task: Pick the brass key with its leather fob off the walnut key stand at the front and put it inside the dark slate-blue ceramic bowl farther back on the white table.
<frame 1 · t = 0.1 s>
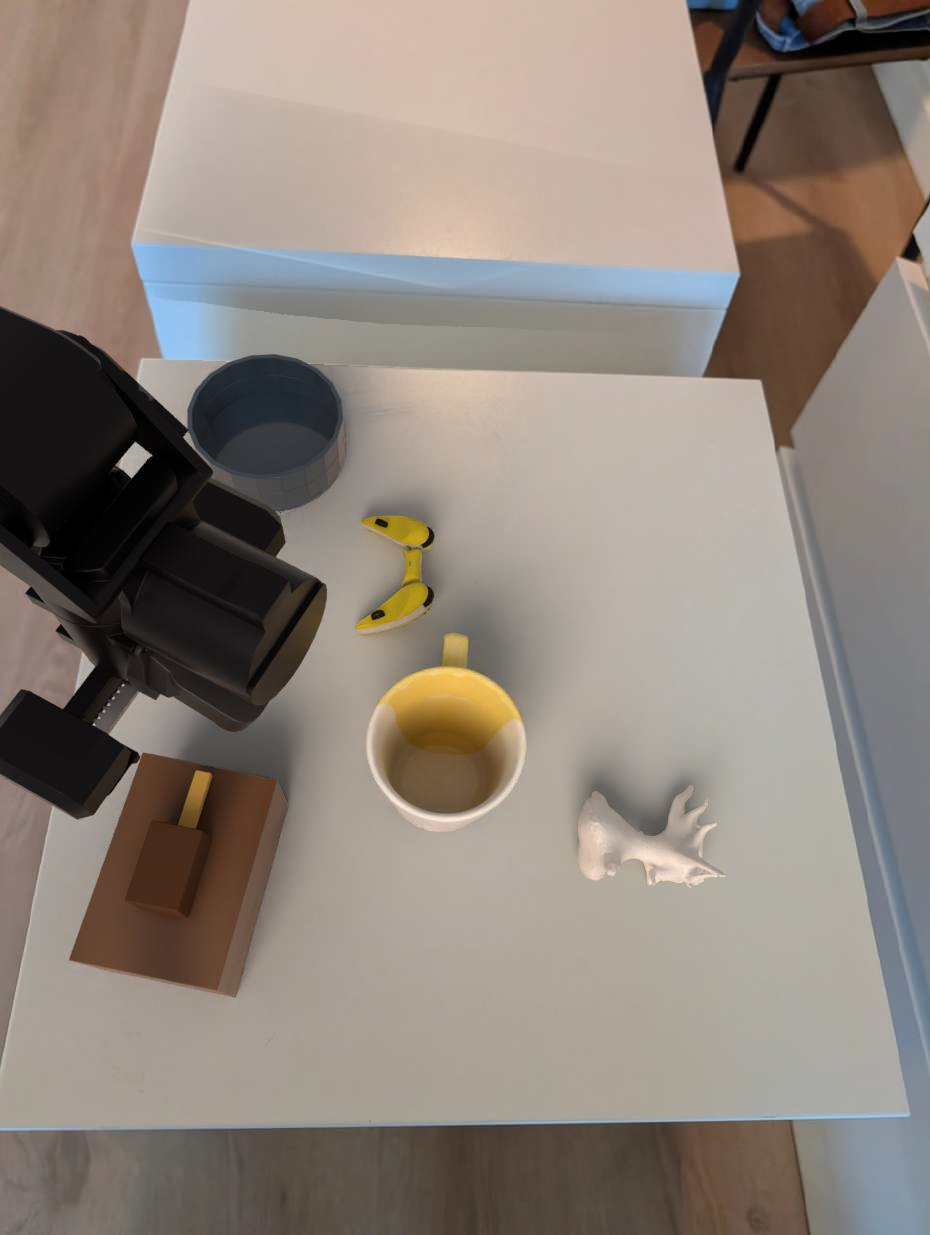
hand: (177, 691, 55), 13 cm above the table, tool pointing down, fingers open, 9 cm apart
bowl: (272, 450, 79), on the table
key: (175, 873, 57), point 7 cm above the table, touching key stand
figurine: (640, 843, 67), on the table
mug: (446, 762, 68), on the table
game controller: (395, 581, 74), on the table
key stand: (199, 884, 63), on the table
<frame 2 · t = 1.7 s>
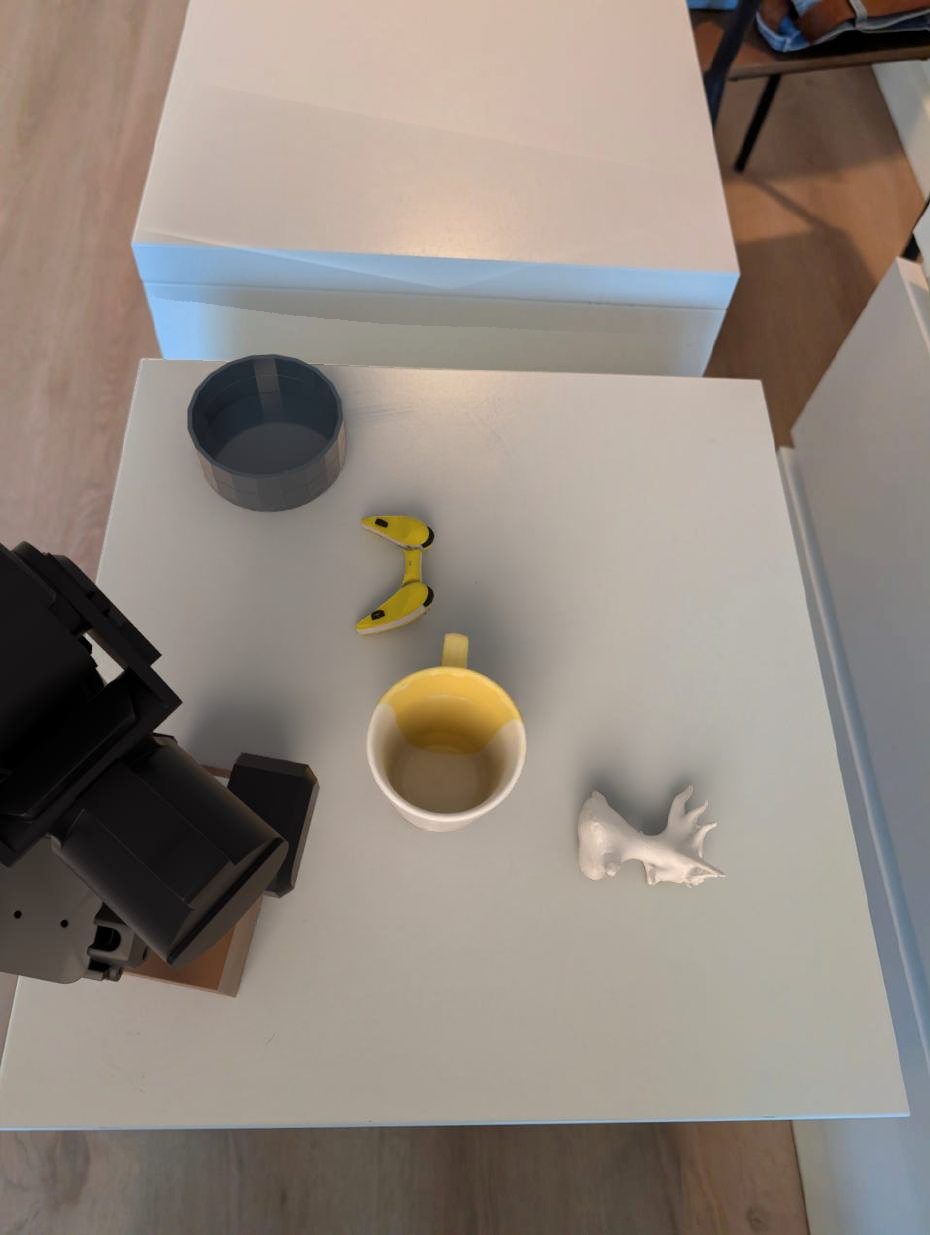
hand: (157, 833, 52), 13 cm above the table, tool pointing down, fingers open, 9 cm apart
nothing on the table moved.
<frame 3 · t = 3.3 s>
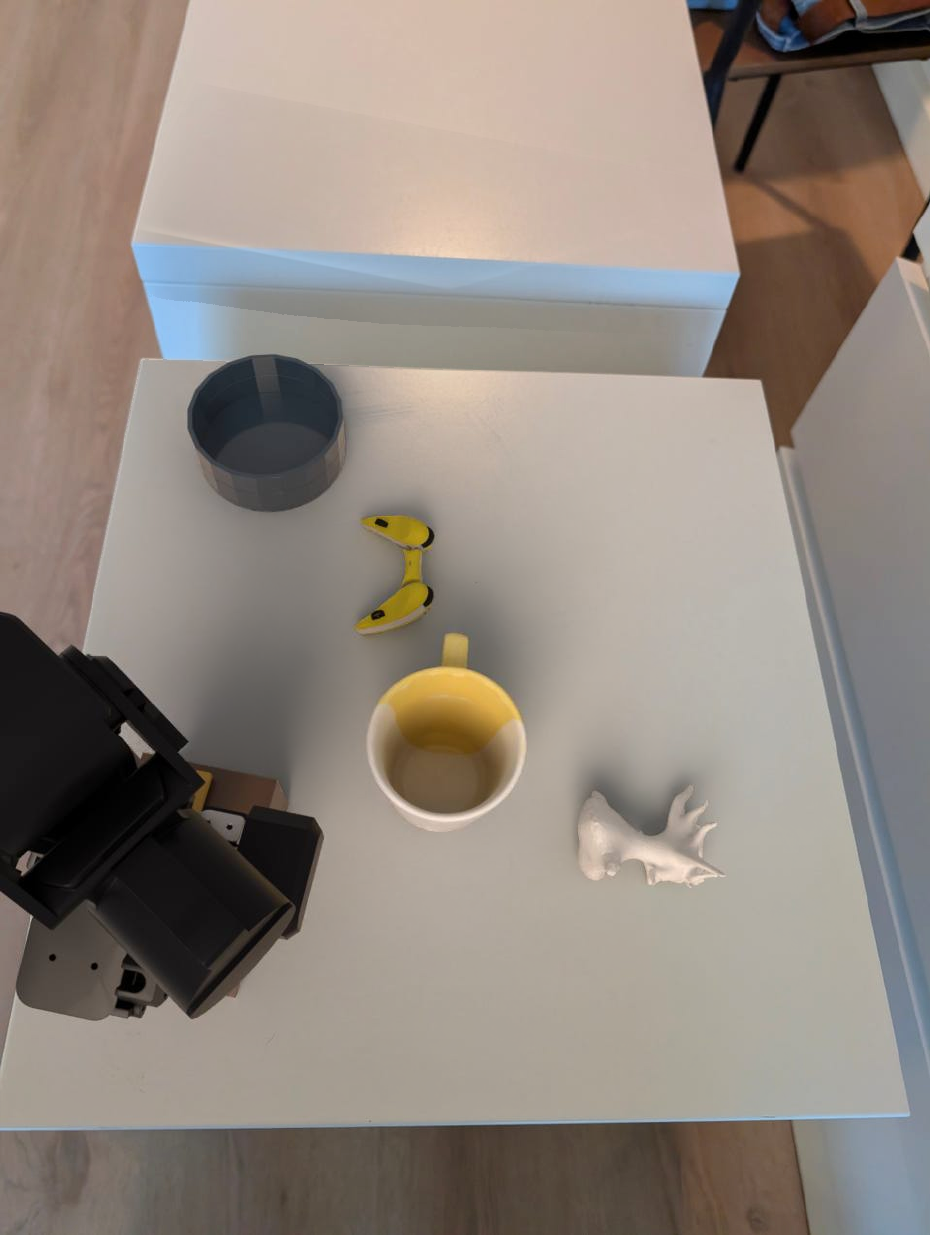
hand: (173, 871, 56), 8 cm above the table, tool pointing down, fingers closed on key, 3 cm apart
key: (175, 873, 57), point 7 cm above the table, touching gripper, key stand
everything else where it was.
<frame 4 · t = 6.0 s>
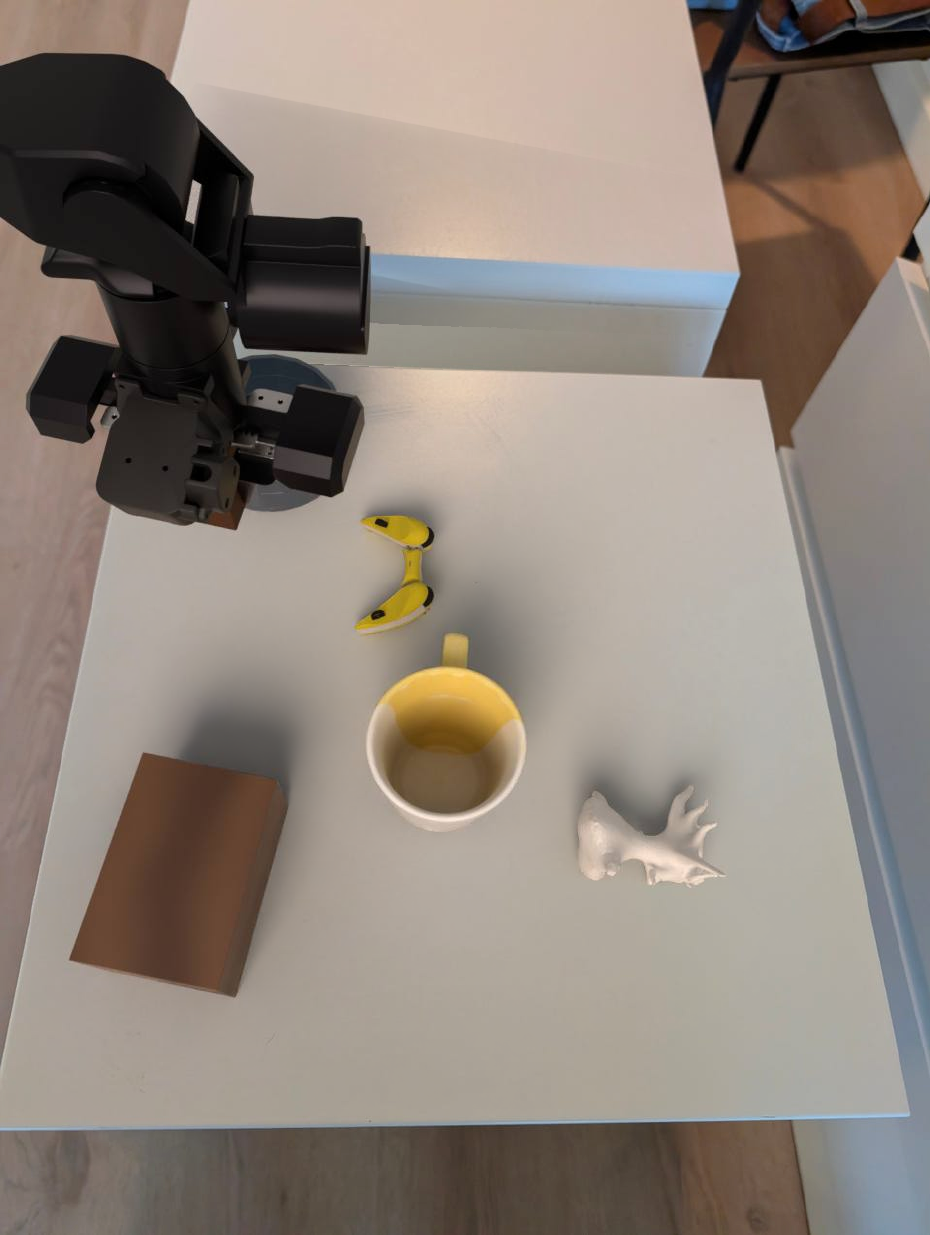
hand: (223, 492, 61), 13 cm above the table, tool pointing down, fingers closed on key, 3 cm apart
key: (224, 496, 62), point 12 cm above the table, touching gripper
everything else where it was.
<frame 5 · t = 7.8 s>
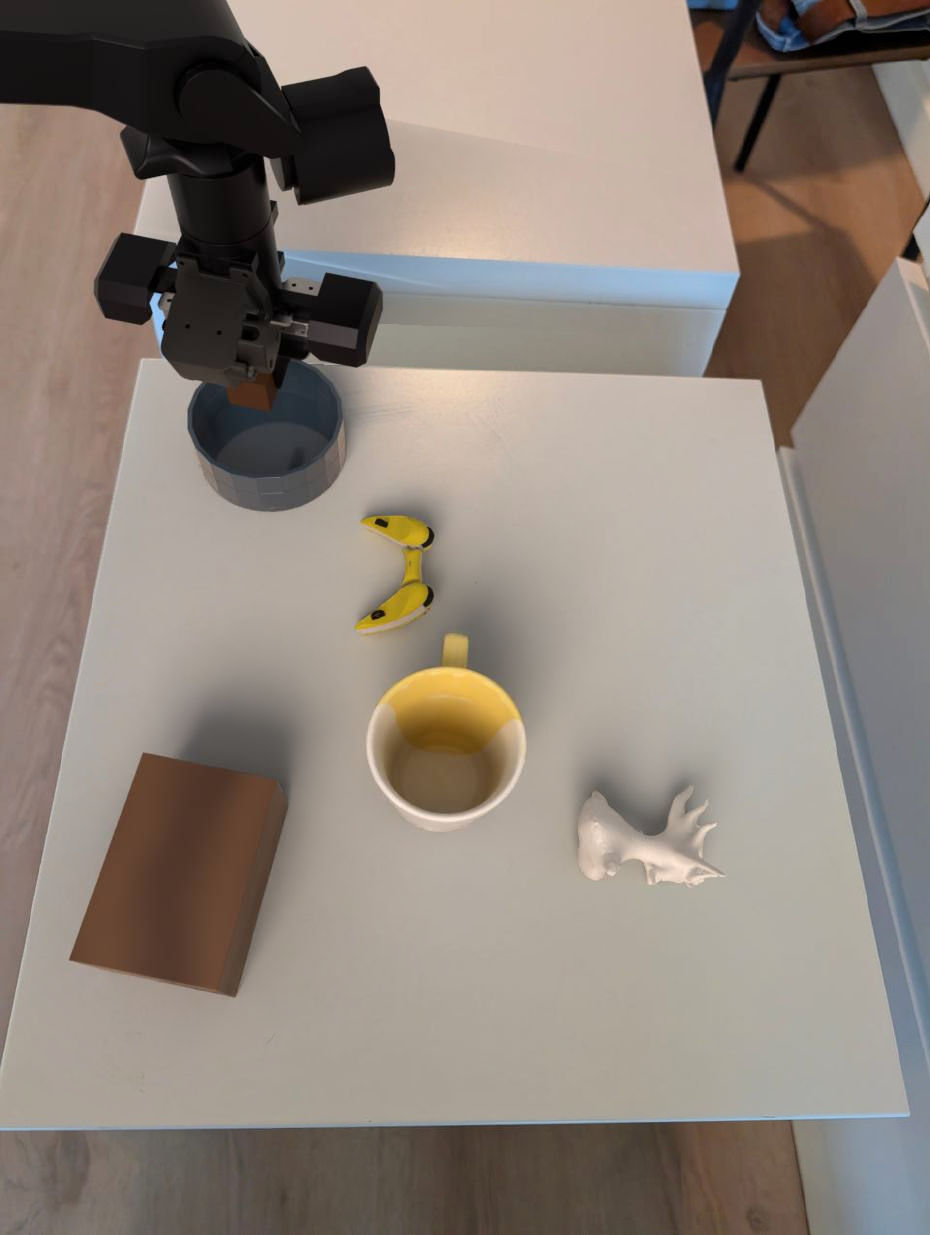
hand: (257, 379, 70), 9 cm above the table, tool pointing down, fingers closed on key, 3 cm apart
key: (258, 384, 71), point 9 cm above the table, touching gripper
everything else where it was.
when the fingers open (5 cm above the table, at t = 9.0 s): key drops 2 cm, resting on bowl.
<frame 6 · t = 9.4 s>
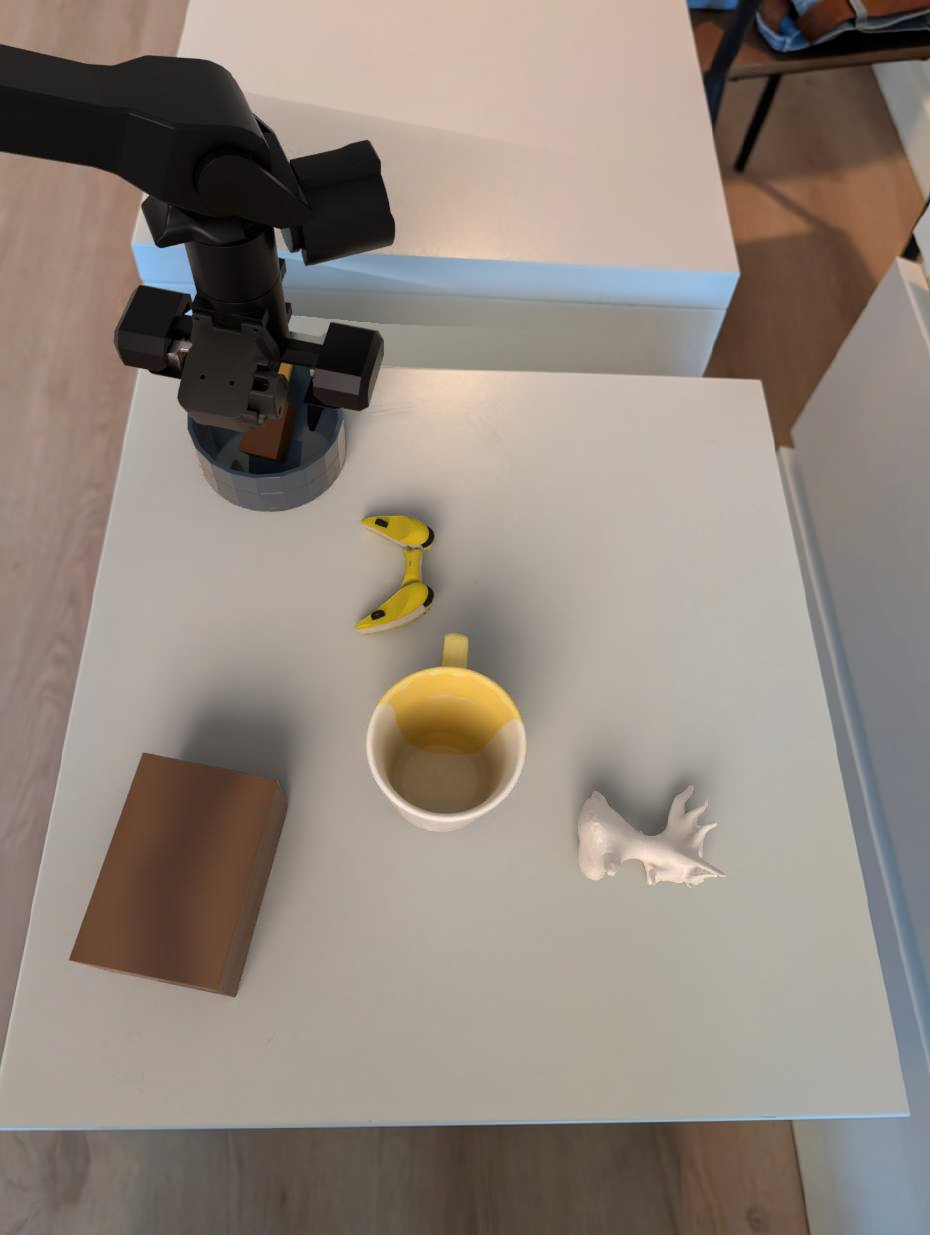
hand: (266, 417, 75), 5 cm above the table, tool pointing down, fingers open, 8 cm apart
key: (273, 432, 77), point 2 cm above the table, tilted 28°, touching bowl
everything else where it was.
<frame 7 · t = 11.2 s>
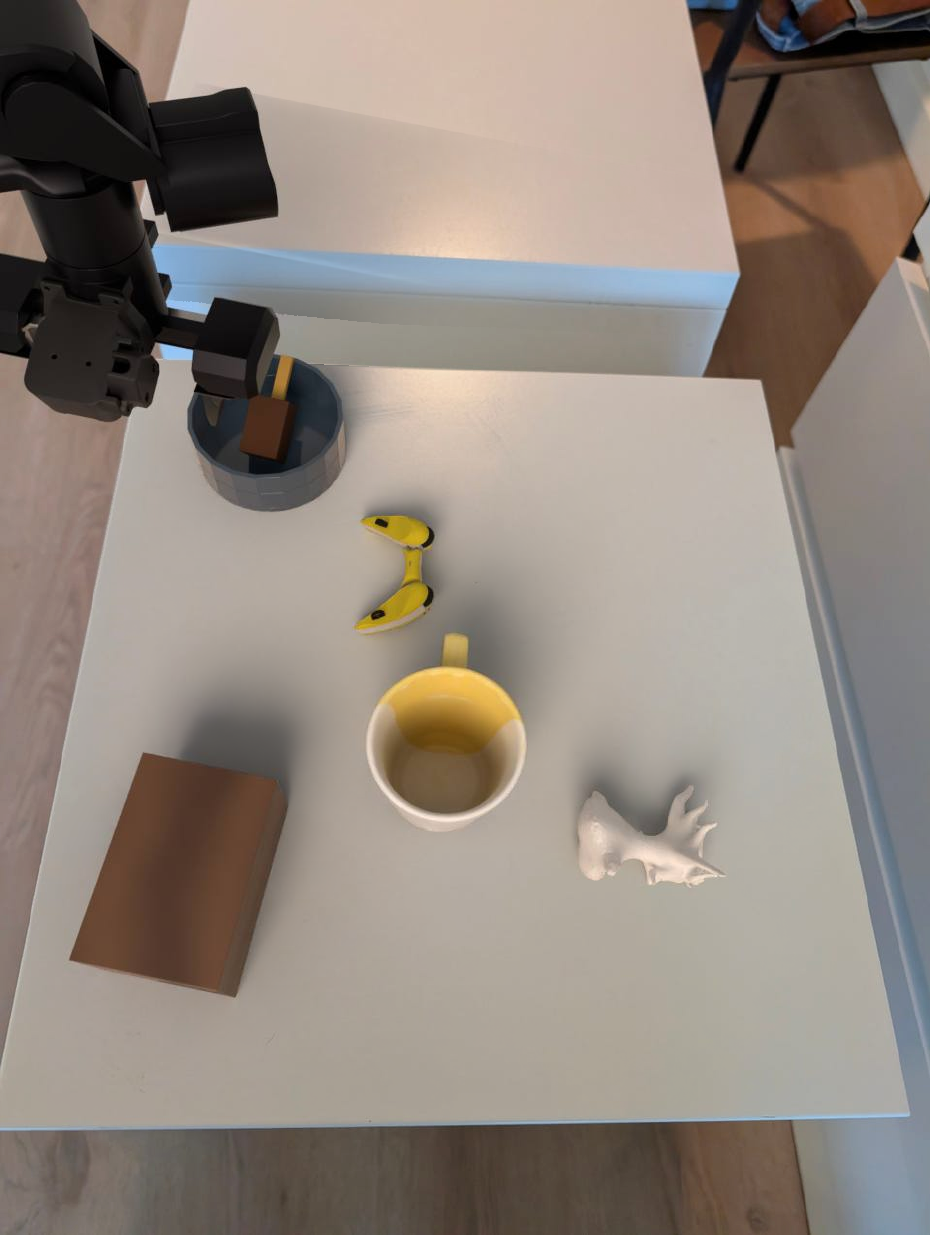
hand: (153, 408, 66), 12 cm above the table, tool pointing down, fingers open, 9 cm apart
nothing on the table moved.
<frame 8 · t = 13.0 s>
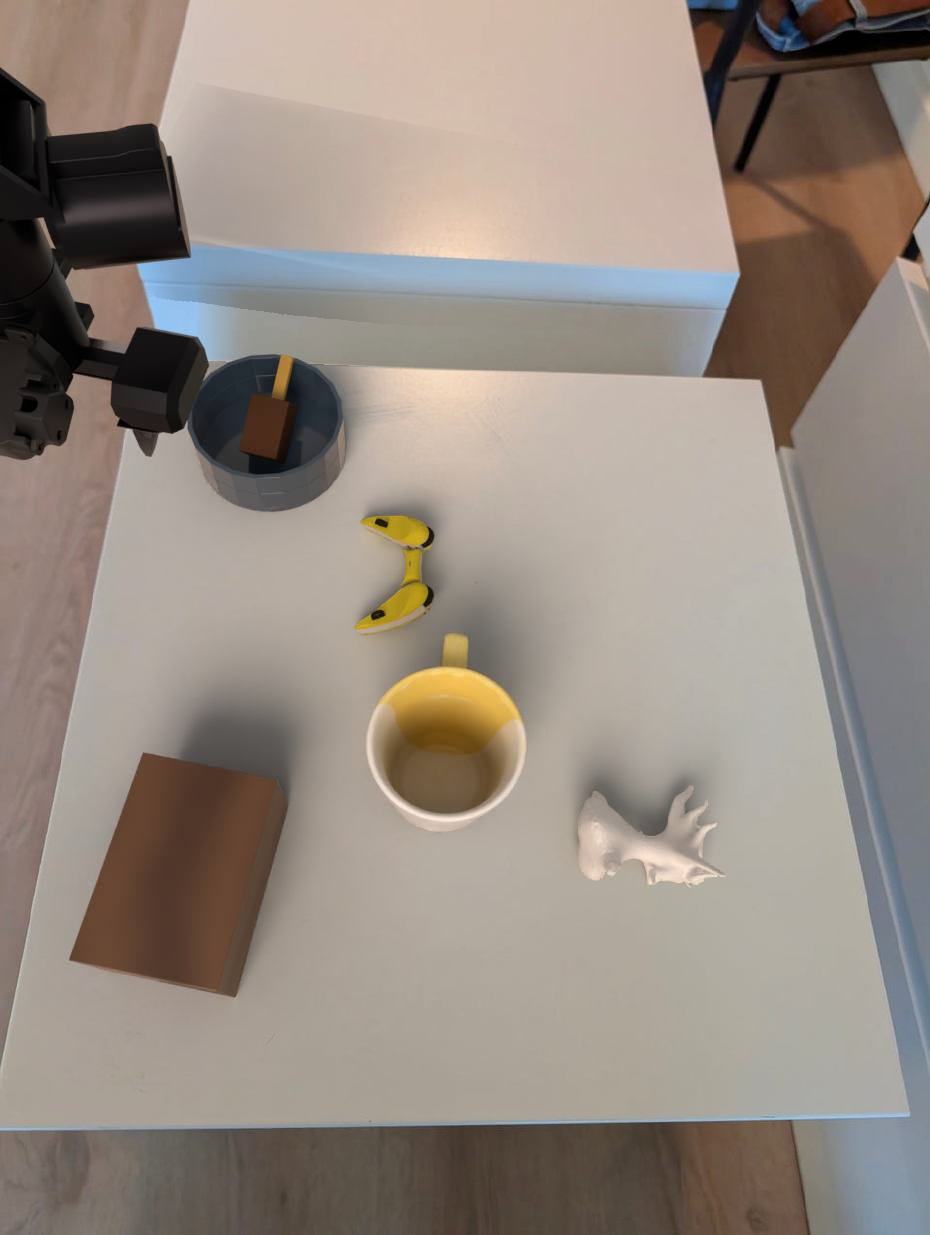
hand: (86, 438, 64), 12 cm above the table, tool pointing down, fingers open, 9 cm apart
nothing on the table moved.
at the end: key inside the target area in the bowl (0.7 cm from its centre), point 1.7 cm above the bowl's base; the gripper is holding nothing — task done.
